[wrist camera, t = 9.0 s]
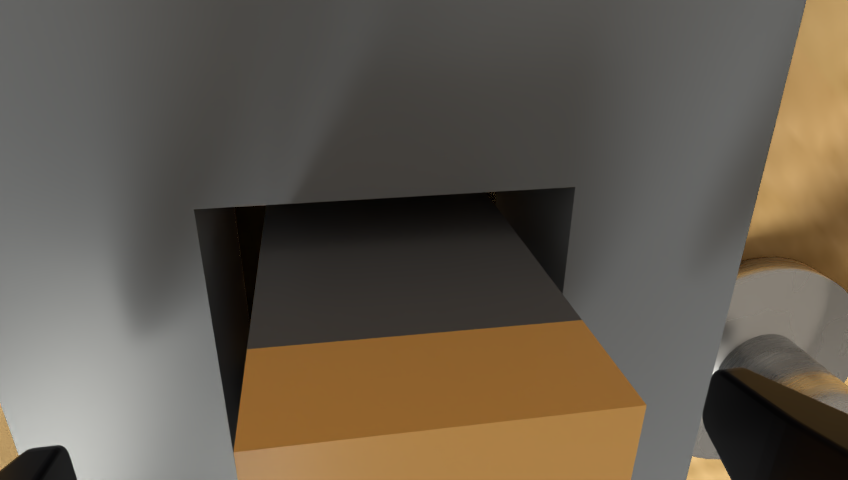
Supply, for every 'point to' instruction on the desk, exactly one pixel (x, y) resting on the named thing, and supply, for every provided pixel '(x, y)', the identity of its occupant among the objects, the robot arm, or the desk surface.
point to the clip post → (786, 333)
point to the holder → (360, 186)
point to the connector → (421, 353)
